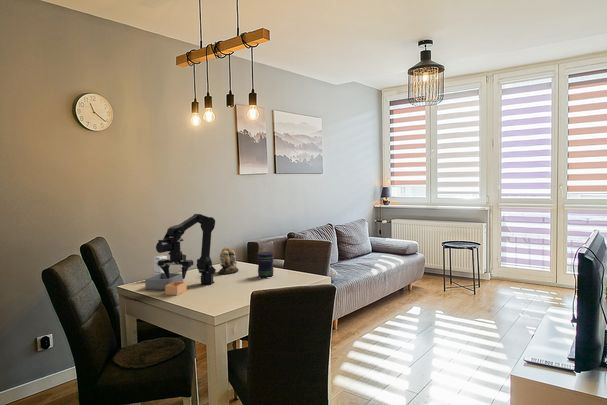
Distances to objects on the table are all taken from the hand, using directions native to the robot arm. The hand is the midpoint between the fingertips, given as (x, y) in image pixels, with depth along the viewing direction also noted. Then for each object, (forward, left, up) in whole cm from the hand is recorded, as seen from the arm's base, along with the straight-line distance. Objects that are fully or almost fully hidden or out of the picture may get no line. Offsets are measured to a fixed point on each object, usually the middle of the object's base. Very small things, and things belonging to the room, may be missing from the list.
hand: (175, 278), depth 224 cm
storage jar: (-37, -45, -8) cm, 59 cm away
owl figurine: (-8, -54, -8) cm, 55 cm away
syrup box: (+26, -28, -8) cm, 39 cm away
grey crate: (+14, -12, -8) cm, 20 cm away
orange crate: (0, 0, -8) cm, 8 cm away
